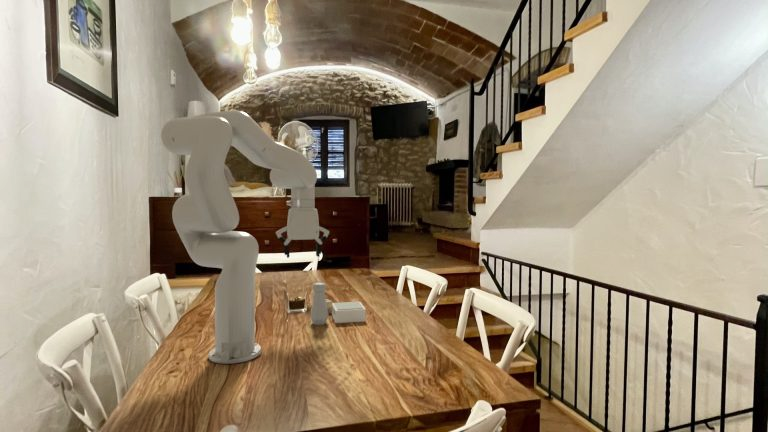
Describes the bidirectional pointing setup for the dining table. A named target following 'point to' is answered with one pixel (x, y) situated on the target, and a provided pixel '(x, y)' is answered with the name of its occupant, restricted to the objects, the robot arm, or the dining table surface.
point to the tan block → (329, 305)
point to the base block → (348, 312)
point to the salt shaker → (319, 305)
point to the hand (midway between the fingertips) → (303, 256)
